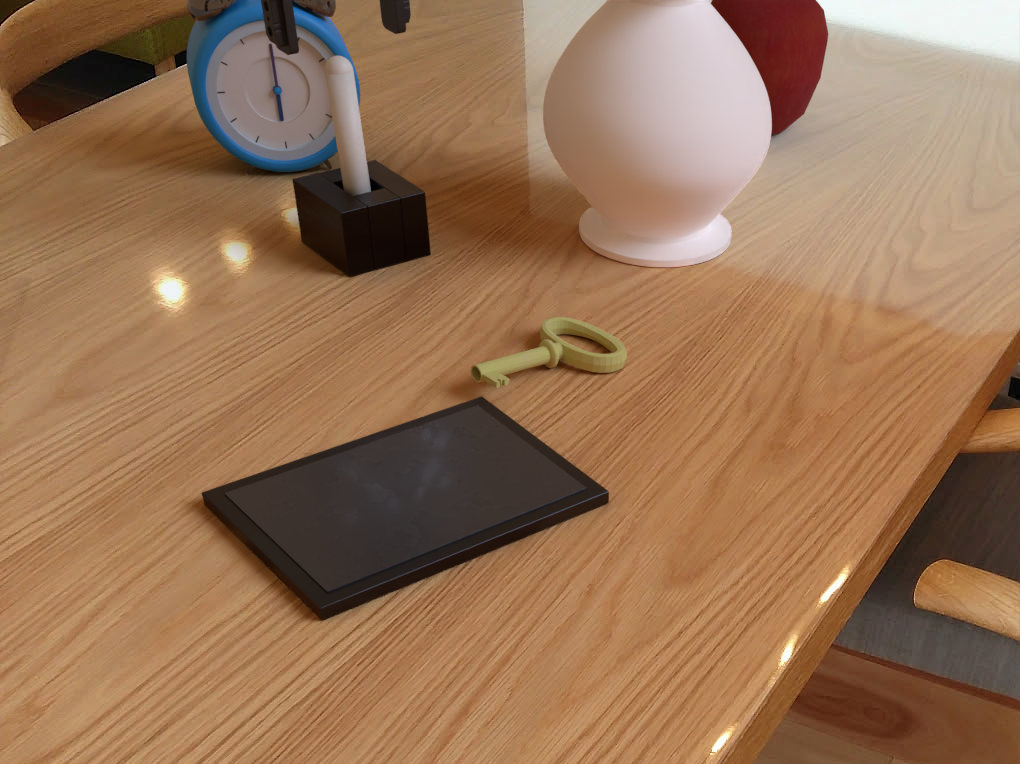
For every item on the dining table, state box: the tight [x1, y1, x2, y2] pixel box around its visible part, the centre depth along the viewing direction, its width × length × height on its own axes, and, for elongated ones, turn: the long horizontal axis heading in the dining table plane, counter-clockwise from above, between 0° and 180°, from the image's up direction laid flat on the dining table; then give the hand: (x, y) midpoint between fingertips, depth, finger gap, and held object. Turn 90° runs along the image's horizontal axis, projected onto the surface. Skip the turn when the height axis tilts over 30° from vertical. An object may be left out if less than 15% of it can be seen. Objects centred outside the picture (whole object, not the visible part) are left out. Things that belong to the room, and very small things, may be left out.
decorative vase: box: [542, 0, 772, 268], centre depth 111 cm, size 18×18×25 cm
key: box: [470, 316, 628, 389], centre depth 101 cm, size 7×12×2 cm, turn 155°
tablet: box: [201, 396, 610, 621], centre depth 89 cm, size 20×14×1 cm
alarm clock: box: [185, 0, 361, 176], centre depth 119 cm, size 13×6×15 cm, turn 110°
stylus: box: [325, 56, 371, 197], centre depth 109 cm, size 2×2×14 cm
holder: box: [291, 159, 432, 278], centre depth 112 cm, size 7×7×5 cm
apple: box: [710, 0, 829, 136], centre depth 133 cm, size 12×12×13 cm
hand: (341, 40), depth 103 cm, fingers open, 8 cm apart
